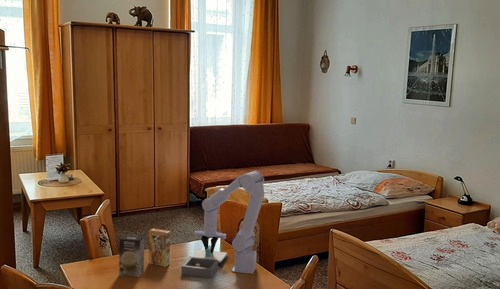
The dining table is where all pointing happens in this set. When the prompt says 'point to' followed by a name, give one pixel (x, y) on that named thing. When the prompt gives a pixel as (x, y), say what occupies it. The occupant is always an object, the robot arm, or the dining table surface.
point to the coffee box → (131, 255)
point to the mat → (223, 262)
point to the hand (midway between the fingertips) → (209, 252)
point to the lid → (210, 254)
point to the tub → (199, 267)
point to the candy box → (159, 247)
